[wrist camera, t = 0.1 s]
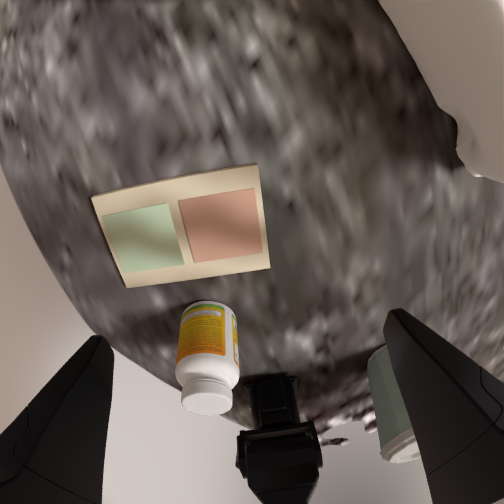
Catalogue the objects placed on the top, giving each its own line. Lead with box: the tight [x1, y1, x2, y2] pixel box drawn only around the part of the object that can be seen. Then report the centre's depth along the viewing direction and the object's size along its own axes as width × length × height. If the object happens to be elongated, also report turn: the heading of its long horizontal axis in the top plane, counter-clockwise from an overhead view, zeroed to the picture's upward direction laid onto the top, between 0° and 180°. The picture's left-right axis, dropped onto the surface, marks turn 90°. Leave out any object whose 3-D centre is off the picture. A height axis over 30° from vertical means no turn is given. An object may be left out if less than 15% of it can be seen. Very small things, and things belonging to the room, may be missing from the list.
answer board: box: [91, 163, 270, 288], centre depth 23 cm, size 9×13×1 cm
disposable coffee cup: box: [367, 344, 421, 464], centre depth 30 cm, size 11×11×15 cm
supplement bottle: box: [175, 301, 239, 415], centre depth 25 cm, size 5×5×10 cm
